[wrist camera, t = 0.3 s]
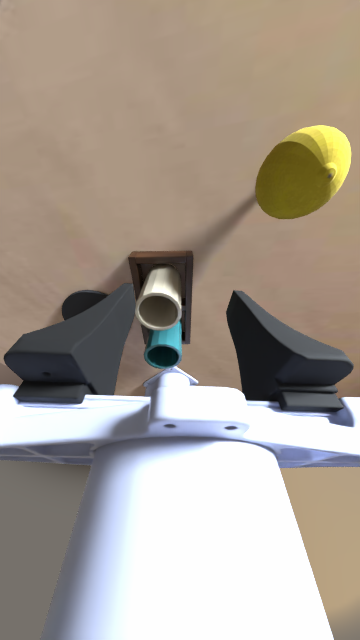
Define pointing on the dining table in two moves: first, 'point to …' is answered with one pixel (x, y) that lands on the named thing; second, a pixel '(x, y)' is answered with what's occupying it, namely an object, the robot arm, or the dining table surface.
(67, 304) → the coaster
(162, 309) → the cream cup
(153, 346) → the teal cup
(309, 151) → the lemon
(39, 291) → the dining table surface
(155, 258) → the holder
